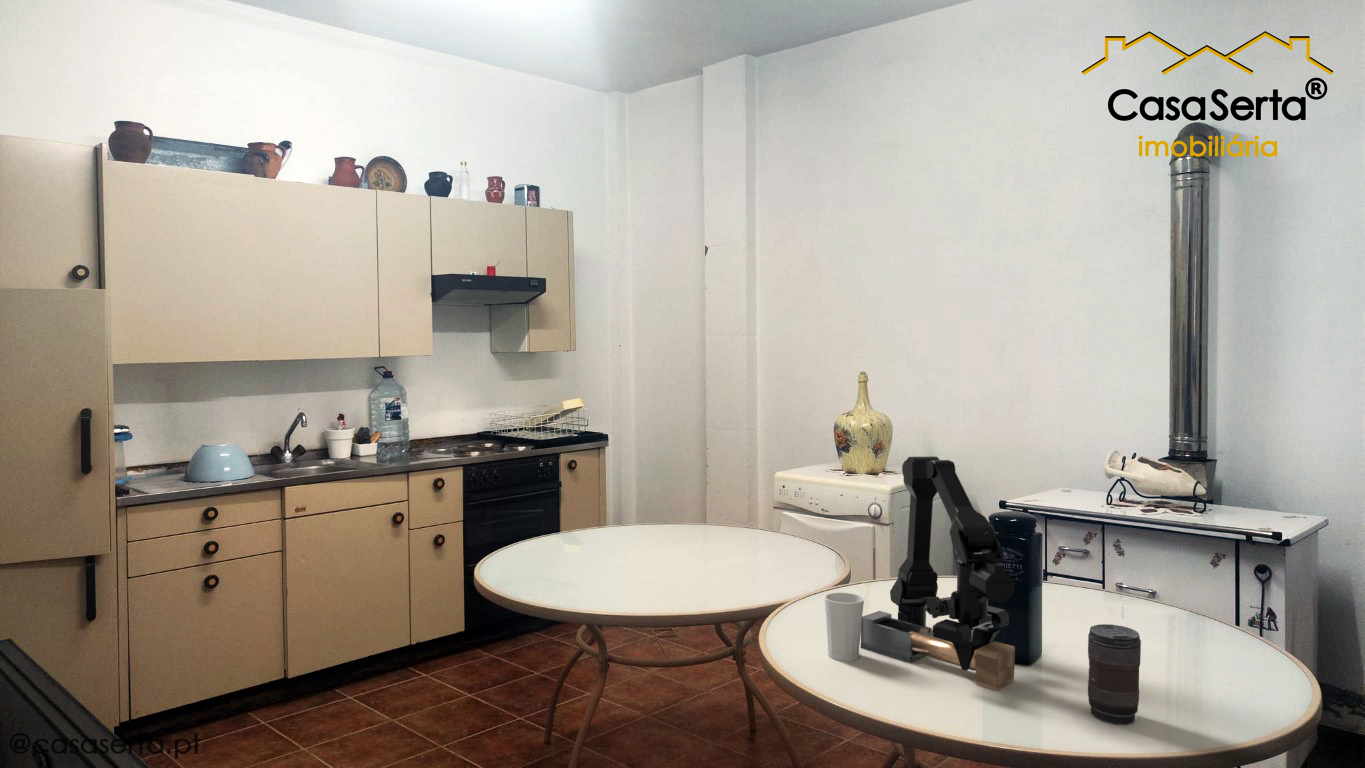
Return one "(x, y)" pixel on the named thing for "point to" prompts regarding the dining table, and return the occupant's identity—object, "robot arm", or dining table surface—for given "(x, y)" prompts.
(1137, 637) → the camera lens
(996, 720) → the dining table surface
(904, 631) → the grey channel holder
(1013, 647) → the socket
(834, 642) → the cup
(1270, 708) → the dining table surface
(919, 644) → the tube
